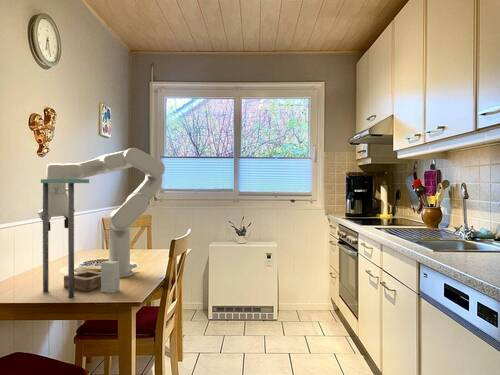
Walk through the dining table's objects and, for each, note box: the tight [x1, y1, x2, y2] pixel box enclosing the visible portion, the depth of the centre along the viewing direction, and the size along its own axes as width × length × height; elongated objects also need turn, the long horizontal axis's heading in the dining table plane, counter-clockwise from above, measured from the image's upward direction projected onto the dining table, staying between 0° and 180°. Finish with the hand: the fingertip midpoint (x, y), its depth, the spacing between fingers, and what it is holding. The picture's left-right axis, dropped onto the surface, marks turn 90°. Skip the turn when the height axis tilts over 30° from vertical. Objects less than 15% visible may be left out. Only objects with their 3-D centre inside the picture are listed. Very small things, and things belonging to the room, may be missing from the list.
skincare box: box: [100, 260, 121, 294], centre depth 152 cm, size 6×4×12 cm
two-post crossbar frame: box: [40, 178, 90, 299], centre depth 151 cm, size 8×19×46 cm, turn 61°
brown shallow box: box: [63, 270, 101, 293], centre depth 159 cm, size 12×14×5 cm
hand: (57, 229), depth 169 cm, fingers open, 9 cm apart
